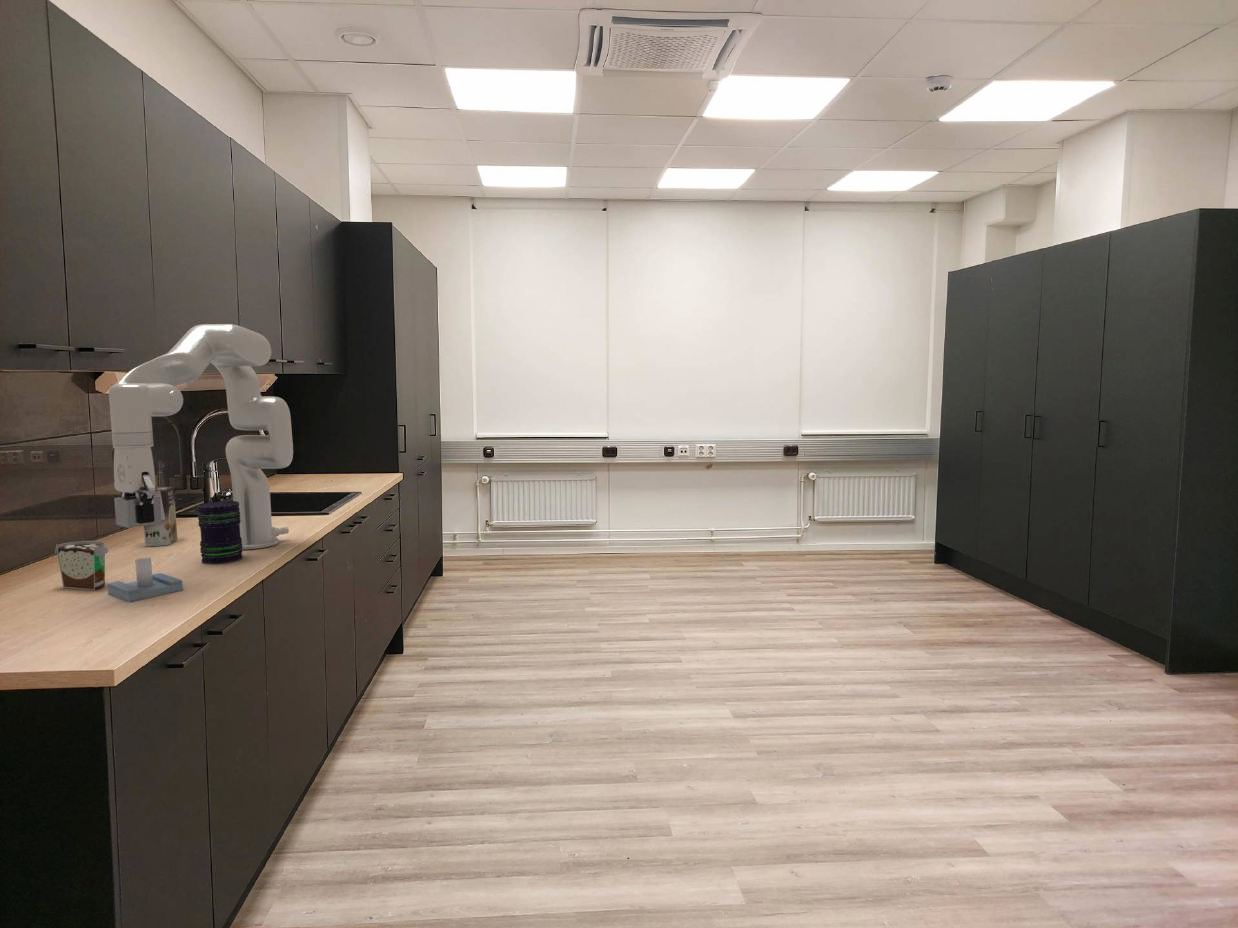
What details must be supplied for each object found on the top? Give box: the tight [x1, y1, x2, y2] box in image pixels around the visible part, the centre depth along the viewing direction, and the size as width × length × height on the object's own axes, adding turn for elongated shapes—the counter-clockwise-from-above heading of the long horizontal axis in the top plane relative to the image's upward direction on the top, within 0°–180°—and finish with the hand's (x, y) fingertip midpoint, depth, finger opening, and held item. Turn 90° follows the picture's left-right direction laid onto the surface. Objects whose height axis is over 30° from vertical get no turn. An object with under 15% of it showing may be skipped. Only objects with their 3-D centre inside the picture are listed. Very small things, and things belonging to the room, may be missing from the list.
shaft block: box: [106, 557, 184, 603], centre depth 169 cm, size 11×11×8 cm
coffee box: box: [143, 486, 178, 547], centre depth 219 cm, size 9×6×16 cm
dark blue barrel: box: [197, 500, 244, 565], centre depth 198 cm, size 10×10×15 cm
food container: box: [54, 540, 109, 591], centre depth 174 cm, size 12×6×10 cm, turn 74°
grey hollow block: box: [113, 495, 162, 529], centre depth 167 cm, size 7×7×6 cm
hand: (139, 520), depth 167 cm, fingers closed on grey hollow block, 6 cm apart
